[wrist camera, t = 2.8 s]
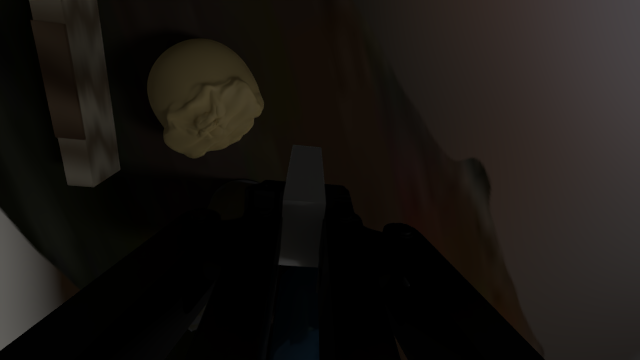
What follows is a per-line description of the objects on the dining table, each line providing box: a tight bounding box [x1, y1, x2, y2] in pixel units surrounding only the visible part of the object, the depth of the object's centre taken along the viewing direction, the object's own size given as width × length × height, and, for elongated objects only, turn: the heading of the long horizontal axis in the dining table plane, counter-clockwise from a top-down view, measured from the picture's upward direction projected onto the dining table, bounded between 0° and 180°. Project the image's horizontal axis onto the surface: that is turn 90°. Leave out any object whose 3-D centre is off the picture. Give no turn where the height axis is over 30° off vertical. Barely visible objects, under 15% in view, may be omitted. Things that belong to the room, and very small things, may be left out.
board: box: [29, 0, 121, 187], centre depth 37 cm, size 24×3×6 cm, turn 174°
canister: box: [188, 180, 258, 332], centre depth 38 cm, size 11×10×20 cm
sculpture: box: [147, 38, 264, 158], centre depth 36 cm, size 12×12×11 cm
